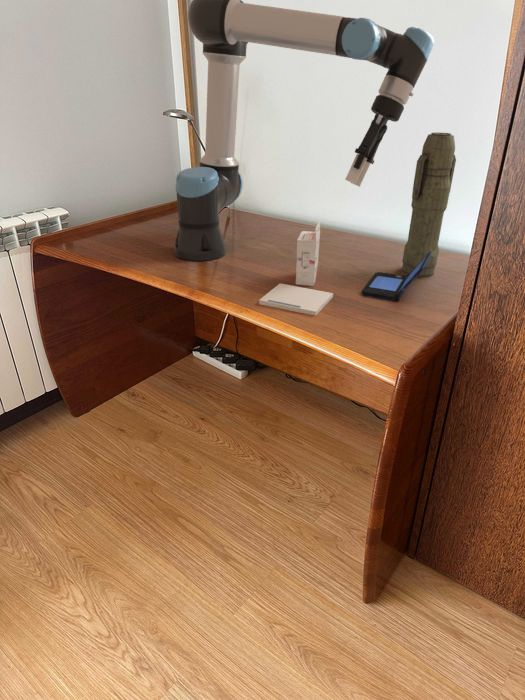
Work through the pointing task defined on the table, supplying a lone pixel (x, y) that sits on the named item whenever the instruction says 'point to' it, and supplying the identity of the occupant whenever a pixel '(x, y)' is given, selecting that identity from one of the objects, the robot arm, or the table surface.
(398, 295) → the handheld game console
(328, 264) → the table surface
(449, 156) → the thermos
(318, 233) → the ink cartridge box
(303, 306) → the notepad
